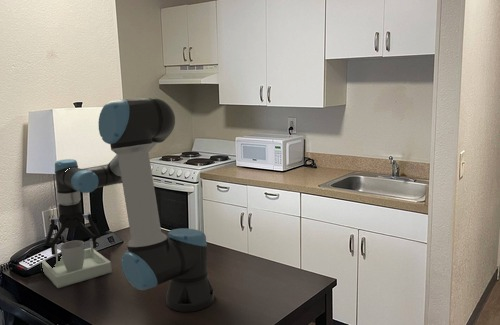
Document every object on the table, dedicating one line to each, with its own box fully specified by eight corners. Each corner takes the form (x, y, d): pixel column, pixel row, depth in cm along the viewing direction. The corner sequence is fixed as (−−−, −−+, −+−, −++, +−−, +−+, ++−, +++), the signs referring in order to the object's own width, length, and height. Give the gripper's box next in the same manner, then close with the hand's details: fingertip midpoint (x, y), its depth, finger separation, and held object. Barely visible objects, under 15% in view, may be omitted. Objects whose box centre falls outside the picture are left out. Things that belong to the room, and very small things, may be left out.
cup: (91, 268, 171) (88, 242, 169) (73, 276, 164) (71, 250, 162) (75, 264, 174) (73, 239, 172) (58, 272, 167) (55, 246, 165)
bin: (111, 272, 168) (111, 262, 167) (57, 288, 156) (56, 277, 155) (92, 257, 183) (91, 247, 182) (41, 270, 171) (40, 260, 170)
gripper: (102, 195, 172) (107, 250, 177) (33, 204, 163) (39, 261, 167) (105, 200, 166) (110, 257, 170) (32, 209, 156) (39, 269, 160)
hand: (75, 259), depth 168 cm, fingers open, 11 cm apart
